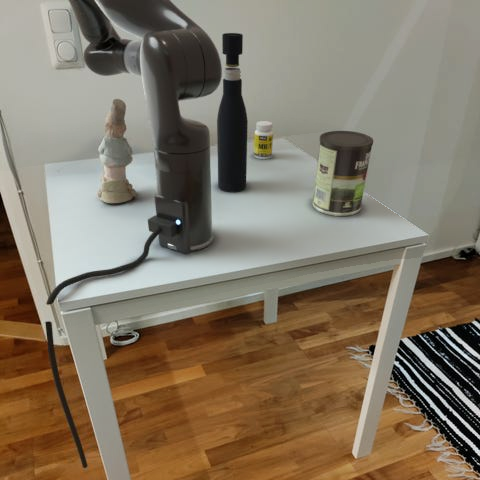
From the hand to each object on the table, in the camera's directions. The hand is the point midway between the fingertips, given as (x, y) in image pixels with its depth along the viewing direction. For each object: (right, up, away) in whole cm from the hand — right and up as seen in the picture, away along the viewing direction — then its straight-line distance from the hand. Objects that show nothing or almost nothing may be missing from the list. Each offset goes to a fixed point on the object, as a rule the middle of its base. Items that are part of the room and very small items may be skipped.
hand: (198, 69), depth 98 cm
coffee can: (+29, -28, +2) cm, 41 cm away
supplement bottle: (+15, -10, +26) cm, 31 cm away
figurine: (-18, -26, +4) cm, 32 cm away
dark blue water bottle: (+7, -22, +9) cm, 25 cm away
